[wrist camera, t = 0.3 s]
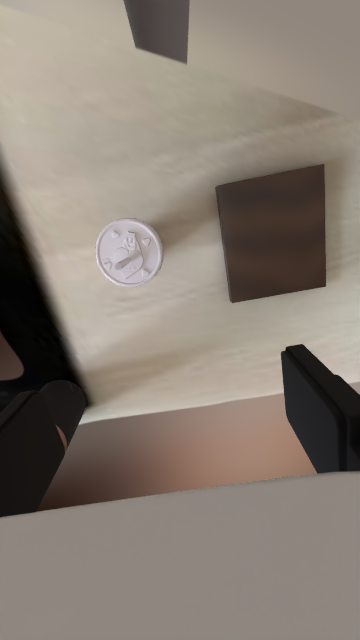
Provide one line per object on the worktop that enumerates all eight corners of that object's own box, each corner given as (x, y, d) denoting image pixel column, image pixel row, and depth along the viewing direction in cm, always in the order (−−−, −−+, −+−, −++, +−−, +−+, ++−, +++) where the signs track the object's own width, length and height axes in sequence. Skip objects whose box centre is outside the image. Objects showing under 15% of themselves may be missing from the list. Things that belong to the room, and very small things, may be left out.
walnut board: (215, 187, 33) (216, 185, 31) (318, 166, 32) (324, 163, 31) (230, 300, 37) (231, 303, 36) (320, 284, 36) (326, 286, 35)
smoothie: (114, 266, 36) (74, 291, 23) (120, 214, 34) (81, 207, 20) (162, 276, 36) (152, 306, 23) (172, 225, 34) (166, 225, 21)
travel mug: (70, 428, 44) (-13, 581, 25) (28, 400, 42) (-93, 542, 24) (98, 398, 42) (32, 538, 23) (56, 368, 41) (-51, 493, 22)
